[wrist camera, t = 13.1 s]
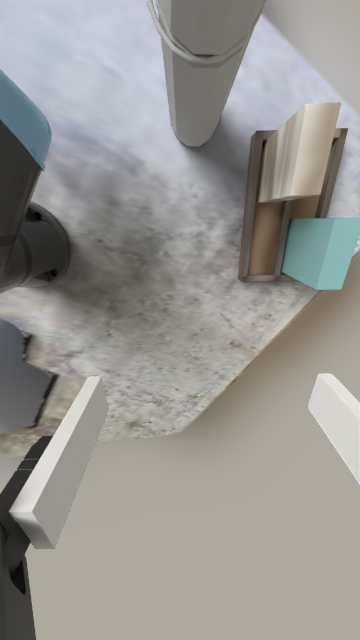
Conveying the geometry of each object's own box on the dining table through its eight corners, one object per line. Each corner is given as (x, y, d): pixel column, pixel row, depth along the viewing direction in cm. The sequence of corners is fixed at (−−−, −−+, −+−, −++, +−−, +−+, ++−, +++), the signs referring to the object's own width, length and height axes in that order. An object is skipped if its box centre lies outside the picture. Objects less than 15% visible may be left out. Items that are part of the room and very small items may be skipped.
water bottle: (229, 118, 32) (348, -131, 9) (191, 162, 34) (210, 51, 12) (188, 54, 29) (211, -526, 6) (149, 108, 31) (65, -180, 9)
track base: (237, 277, 42) (259, 300, 30) (251, 137, 33) (290, 90, 21) (303, 276, 42) (351, 298, 30) (336, 134, 33) (424, 86, 21)
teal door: (280, 271, 40) (316, 289, 30) (289, 218, 37) (335, 218, 26) (298, 270, 40) (341, 289, 30) (310, 218, 37) (364, 218, 26)
